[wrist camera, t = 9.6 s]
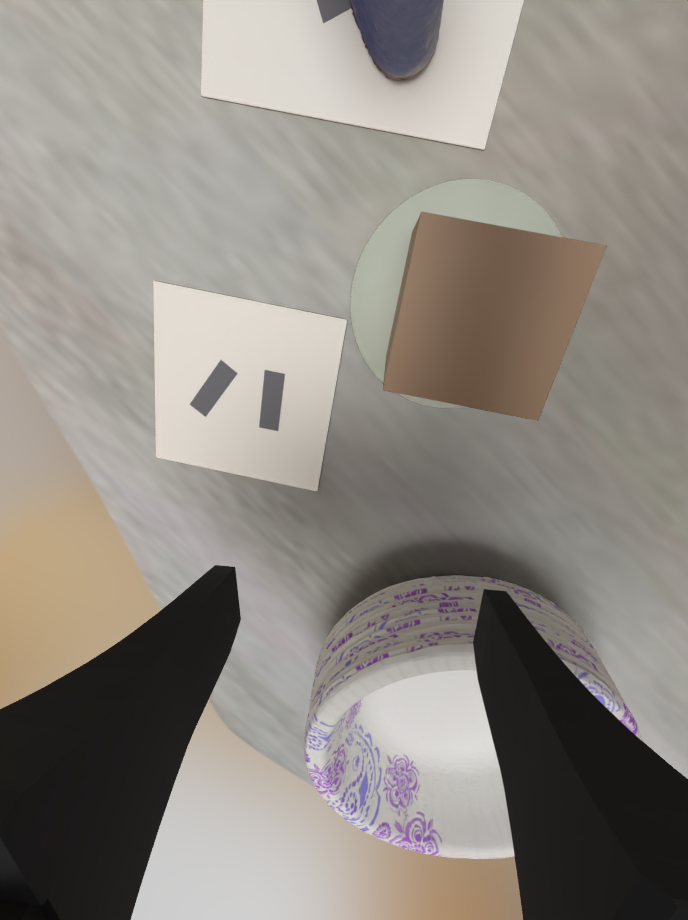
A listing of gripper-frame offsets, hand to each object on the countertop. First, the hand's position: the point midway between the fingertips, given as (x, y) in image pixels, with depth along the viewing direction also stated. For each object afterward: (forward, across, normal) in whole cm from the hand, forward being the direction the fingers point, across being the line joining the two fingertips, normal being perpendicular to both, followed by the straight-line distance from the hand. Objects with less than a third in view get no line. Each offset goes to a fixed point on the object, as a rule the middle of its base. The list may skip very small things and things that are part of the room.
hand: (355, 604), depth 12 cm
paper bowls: (+11, -5, +12) cm, 17 cm away
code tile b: (+10, +7, -3) cm, 13 cm away
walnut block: (+10, -3, -8) cm, 13 cm away
